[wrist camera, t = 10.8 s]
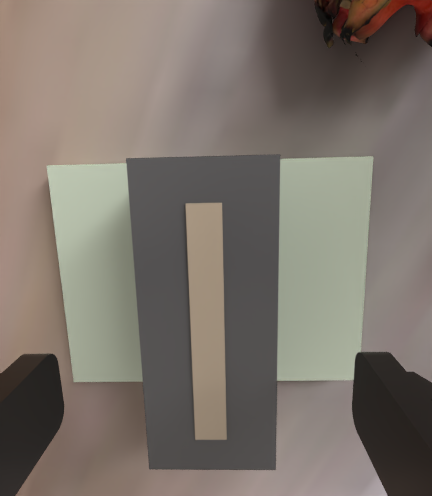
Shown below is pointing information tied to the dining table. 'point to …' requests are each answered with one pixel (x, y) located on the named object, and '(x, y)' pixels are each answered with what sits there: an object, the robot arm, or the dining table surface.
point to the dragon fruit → (368, 18)
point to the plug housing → (207, 307)
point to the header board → (289, 282)
